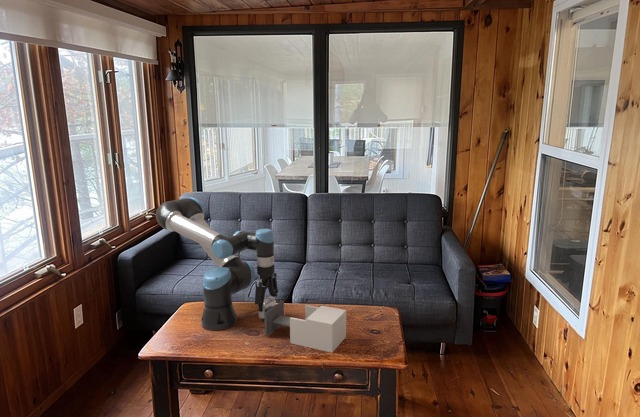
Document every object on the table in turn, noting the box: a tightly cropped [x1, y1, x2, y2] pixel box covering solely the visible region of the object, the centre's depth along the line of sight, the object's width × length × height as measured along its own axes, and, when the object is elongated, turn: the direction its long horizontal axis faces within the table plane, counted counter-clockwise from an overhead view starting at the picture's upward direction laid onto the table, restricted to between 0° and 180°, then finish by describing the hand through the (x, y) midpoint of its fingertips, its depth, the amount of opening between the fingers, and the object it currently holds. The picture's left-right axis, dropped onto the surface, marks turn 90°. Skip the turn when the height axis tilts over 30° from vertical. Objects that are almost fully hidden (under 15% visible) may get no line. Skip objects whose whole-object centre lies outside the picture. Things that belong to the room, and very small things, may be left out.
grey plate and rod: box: [264, 300, 292, 337], centre depth 179 cm, size 18×14×10 cm
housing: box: [289, 304, 347, 354], centre depth 174 cm, size 18×14×12 cm
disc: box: [263, 297, 277, 310], centre depth 193 cm, size 8×8×2 cm
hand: (267, 314), depth 194 cm, fingers closed on disc, 8 cm apart
